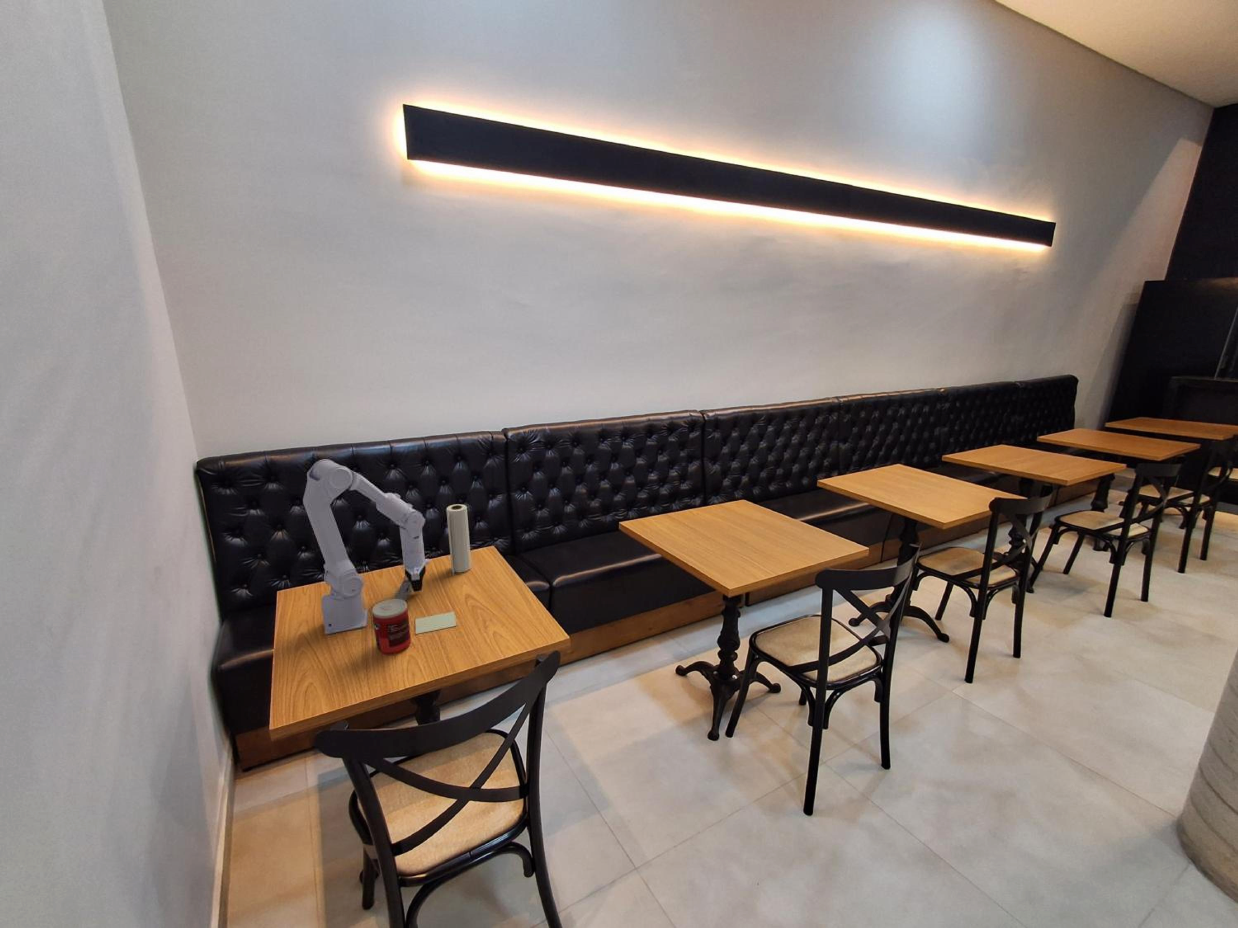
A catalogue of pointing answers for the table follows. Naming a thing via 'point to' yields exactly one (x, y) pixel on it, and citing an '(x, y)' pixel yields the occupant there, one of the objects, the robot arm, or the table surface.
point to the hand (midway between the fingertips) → (417, 590)
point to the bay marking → (435, 622)
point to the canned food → (391, 626)
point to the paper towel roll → (458, 538)
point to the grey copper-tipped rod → (404, 590)
